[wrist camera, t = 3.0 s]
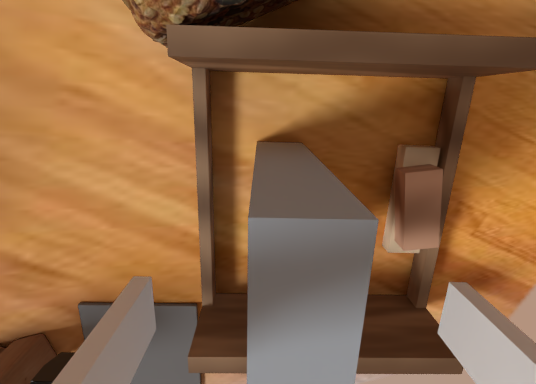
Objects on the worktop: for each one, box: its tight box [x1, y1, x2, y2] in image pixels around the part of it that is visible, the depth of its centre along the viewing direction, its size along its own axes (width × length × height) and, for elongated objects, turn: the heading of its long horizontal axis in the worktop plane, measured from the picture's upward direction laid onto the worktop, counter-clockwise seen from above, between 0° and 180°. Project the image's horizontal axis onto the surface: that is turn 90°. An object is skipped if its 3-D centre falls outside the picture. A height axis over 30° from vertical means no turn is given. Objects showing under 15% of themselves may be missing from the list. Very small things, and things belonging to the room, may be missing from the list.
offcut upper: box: [394, 164, 443, 251], centre depth 26 cm, size 7×3×2 cm, turn 7°
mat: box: [78, 303, 201, 384], centre depth 32 cm, size 12×12×1 cm
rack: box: [166, 24, 536, 374], centre depth 24 cm, size 25×22×8 cm
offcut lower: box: [382, 145, 441, 253], centre depth 28 cm, size 10×3×2 cm, turn 178°
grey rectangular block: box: [247, 142, 378, 384], centre depth 19 cm, size 10×4×18 cm, turn 178°
